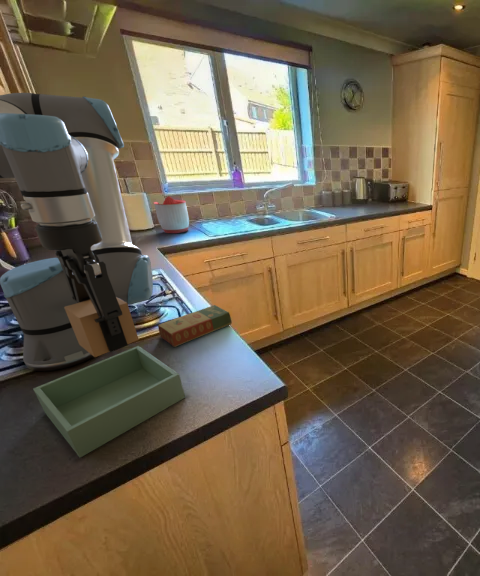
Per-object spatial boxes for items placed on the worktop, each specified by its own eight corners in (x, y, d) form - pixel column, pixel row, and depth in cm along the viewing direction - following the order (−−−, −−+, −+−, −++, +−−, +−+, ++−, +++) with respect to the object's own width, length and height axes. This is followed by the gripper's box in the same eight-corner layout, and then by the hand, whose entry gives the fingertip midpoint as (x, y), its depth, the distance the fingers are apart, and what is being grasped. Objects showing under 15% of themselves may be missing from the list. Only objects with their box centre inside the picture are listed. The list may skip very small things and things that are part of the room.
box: (79, 344, 61) (63, 306, 58) (122, 329, 67) (110, 293, 64) (94, 357, 58) (79, 317, 55) (139, 339, 63) (127, 302, 60)
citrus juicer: (175, 227, 200) (168, 193, 192) (198, 230, 195) (191, 195, 187) (151, 232, 186) (142, 196, 178) (175, 236, 181) (166, 199, 173)
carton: (160, 337, 89) (156, 323, 87) (217, 315, 101) (214, 303, 99) (174, 348, 85) (170, 334, 83) (232, 324, 97) (230, 311, 95)
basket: (45, 413, 64) (32, 388, 61) (145, 367, 77) (138, 345, 75) (79, 458, 55) (67, 431, 53) (185, 397, 69) (179, 374, 66)
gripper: (14, 216, 55) (64, 333, 64) (58, 235, 45) (108, 370, 55) (71, 210, 61) (109, 318, 70) (120, 226, 51) (157, 349, 60)
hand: (109, 341), depth 62 cm, fingers closed on box, 7 cm apart
